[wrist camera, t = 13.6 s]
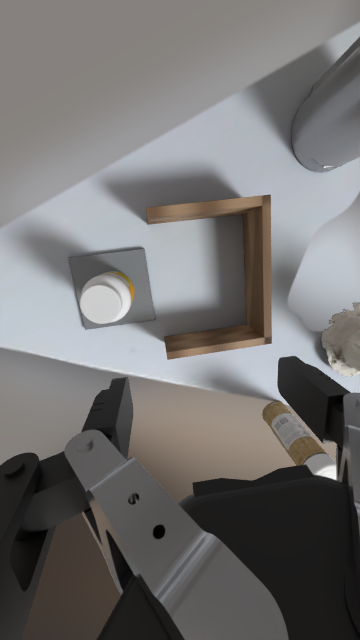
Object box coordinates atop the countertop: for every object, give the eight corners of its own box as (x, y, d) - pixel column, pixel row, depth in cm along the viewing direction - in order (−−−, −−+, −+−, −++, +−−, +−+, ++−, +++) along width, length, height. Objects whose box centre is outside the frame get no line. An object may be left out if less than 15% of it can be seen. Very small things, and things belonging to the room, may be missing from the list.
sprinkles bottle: (266, 426, 43) (316, 500, 30) (257, 407, 41) (306, 476, 28) (289, 414, 42) (349, 484, 30) (281, 395, 41) (340, 460, 28)
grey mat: (144, 248, 32) (144, 248, 32) (155, 318, 35) (155, 319, 34) (69, 257, 31) (68, 257, 31) (86, 328, 34) (85, 329, 34)
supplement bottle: (121, 316, 34) (109, 340, 24) (87, 295, 32) (61, 311, 23) (142, 285, 33) (138, 298, 24) (109, 262, 32) (90, 266, 22)
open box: (249, 205, 32) (270, 194, 26) (253, 329, 37) (271, 343, 31) (147, 216, 31) (145, 207, 25) (165, 342, 36) (167, 359, 30)
